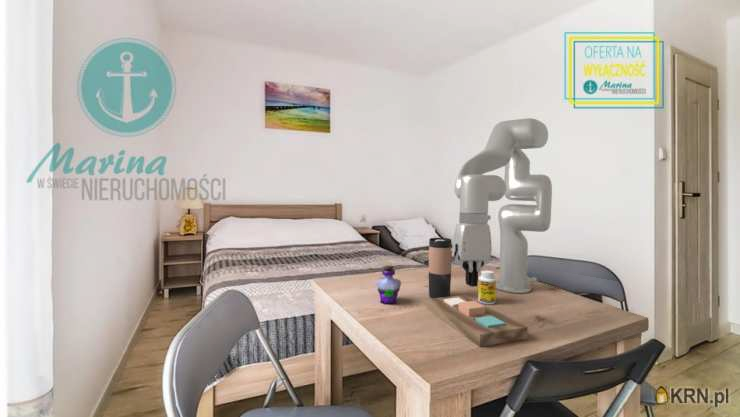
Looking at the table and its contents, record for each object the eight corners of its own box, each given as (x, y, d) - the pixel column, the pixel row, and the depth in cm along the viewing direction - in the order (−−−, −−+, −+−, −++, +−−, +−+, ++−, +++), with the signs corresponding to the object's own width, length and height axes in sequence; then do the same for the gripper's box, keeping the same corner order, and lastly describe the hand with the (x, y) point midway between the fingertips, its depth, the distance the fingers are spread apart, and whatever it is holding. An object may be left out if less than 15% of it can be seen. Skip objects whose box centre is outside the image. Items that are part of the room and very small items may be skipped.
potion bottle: (381, 307, 108) (381, 270, 107) (371, 299, 116) (371, 264, 115) (406, 304, 111) (406, 267, 110) (394, 296, 119) (394, 262, 118)
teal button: (491, 326, 92) (491, 315, 92) (504, 334, 87) (505, 323, 87) (474, 329, 90) (475, 317, 90) (487, 337, 85) (487, 325, 85)
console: (465, 304, 111) (465, 294, 111) (527, 338, 86) (527, 327, 86) (426, 308, 107) (426, 299, 107) (479, 346, 81) (480, 334, 81)
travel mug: (449, 293, 123) (450, 237, 121) (452, 300, 115) (453, 241, 114) (427, 292, 123) (428, 237, 122) (429, 299, 116) (429, 240, 114)
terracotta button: (473, 310, 100) (473, 300, 99) (485, 317, 95) (485, 306, 94) (458, 312, 98) (458, 302, 98) (468, 319, 93) (469, 308, 93)
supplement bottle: (477, 303, 112) (478, 272, 111) (477, 298, 117) (478, 269, 116) (496, 305, 110) (497, 274, 109) (495, 300, 115) (496, 270, 115)
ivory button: (458, 306, 107) (458, 297, 107) (468, 312, 102) (468, 302, 102) (443, 308, 106) (443, 299, 105) (452, 314, 101) (452, 304, 100)
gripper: (487, 218, 100) (485, 280, 101) (442, 218, 96) (440, 283, 97) (505, 220, 93) (502, 287, 94) (457, 221, 89) (455, 291, 89)
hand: (471, 285), depth 95 cm, fingers closed
